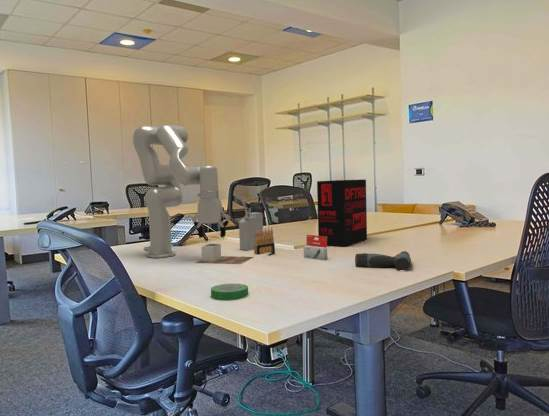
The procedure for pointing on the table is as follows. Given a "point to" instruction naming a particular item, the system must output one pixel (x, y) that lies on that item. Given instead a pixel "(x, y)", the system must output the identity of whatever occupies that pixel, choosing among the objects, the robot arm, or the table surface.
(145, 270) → the table surface
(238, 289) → the tape roll
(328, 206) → the product box
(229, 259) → the board
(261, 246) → the ammunition clip
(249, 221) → the fuel canister
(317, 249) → the ink cartridge box
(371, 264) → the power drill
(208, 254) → the grey block
